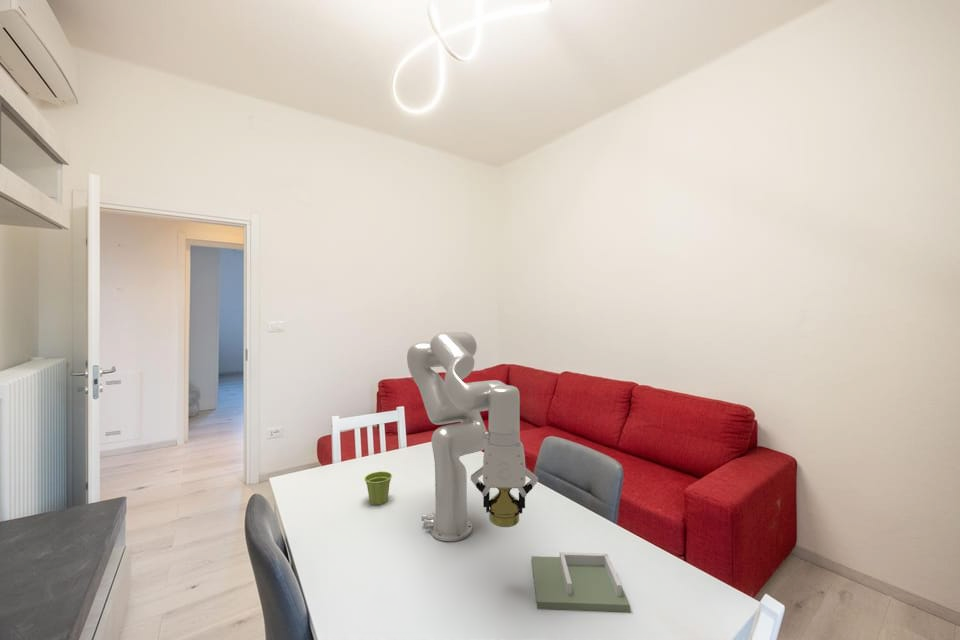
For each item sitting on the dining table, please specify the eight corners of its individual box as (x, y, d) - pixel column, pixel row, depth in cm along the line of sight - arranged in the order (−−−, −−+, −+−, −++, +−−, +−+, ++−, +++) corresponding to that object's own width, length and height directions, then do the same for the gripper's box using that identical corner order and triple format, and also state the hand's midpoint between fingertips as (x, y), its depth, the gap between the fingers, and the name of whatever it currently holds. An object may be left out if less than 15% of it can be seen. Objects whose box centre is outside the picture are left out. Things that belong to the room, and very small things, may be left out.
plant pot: (358, 505, 131) (358, 479, 131) (376, 493, 140) (375, 469, 140) (381, 510, 128) (381, 484, 127) (397, 497, 136) (397, 473, 136)
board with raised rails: (537, 608, 84) (537, 590, 84) (531, 562, 100) (531, 546, 100) (630, 611, 83) (629, 593, 83) (609, 564, 99) (609, 548, 99)
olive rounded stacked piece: (511, 531, 87) (511, 488, 87) (483, 522, 91) (483, 480, 91) (524, 517, 93) (524, 476, 93) (498, 509, 97) (498, 470, 97)
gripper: (466, 441, 89) (466, 517, 89) (541, 443, 88) (541, 519, 88) (469, 432, 96) (469, 501, 97) (538, 433, 95) (538, 503, 95)
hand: (504, 509), depth 92 cm, fingers closed on olive rounded stacked piece, 7 cm apart
